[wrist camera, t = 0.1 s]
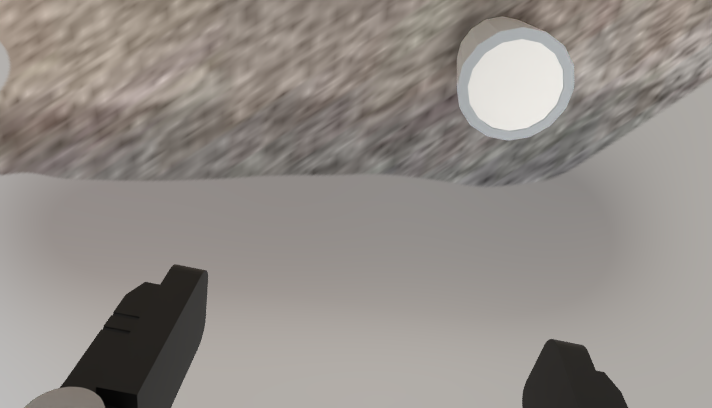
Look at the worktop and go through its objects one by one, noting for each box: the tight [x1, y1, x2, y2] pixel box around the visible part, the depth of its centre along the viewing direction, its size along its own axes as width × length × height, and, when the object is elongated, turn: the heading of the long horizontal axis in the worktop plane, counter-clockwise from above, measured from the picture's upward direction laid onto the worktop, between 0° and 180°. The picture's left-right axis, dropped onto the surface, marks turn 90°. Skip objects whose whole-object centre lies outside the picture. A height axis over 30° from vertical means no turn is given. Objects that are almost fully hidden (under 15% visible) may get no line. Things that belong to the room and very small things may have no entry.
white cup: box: [457, 16, 574, 141], centre depth 35 cm, size 7×7×7 cm
